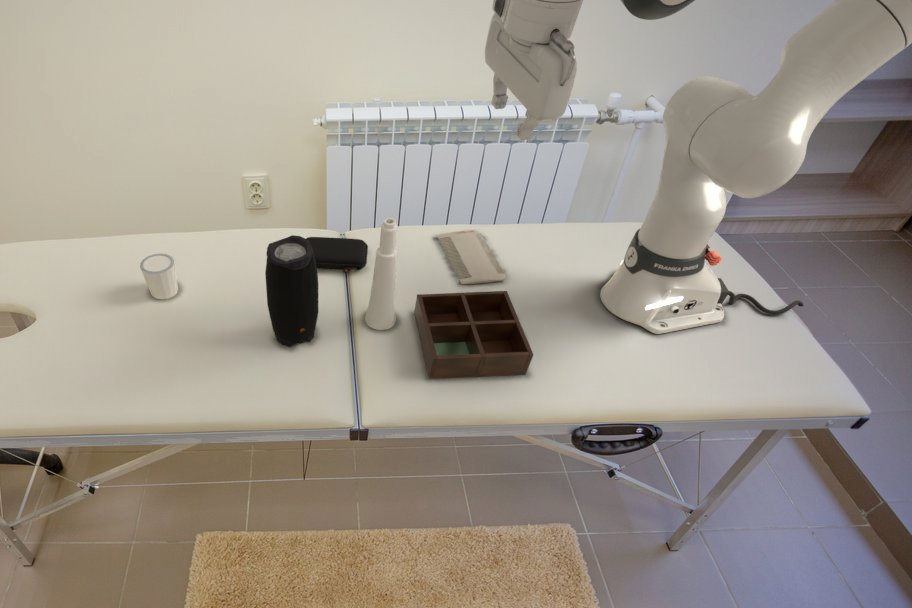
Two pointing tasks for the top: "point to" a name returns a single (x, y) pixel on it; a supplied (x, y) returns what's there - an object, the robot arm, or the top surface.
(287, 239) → the portable speaker
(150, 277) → the shot glass
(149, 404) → the top surface
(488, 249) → the grooming comb
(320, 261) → the carrying case
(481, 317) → the organiser
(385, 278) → the cosmetic bottle
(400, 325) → the top surface
